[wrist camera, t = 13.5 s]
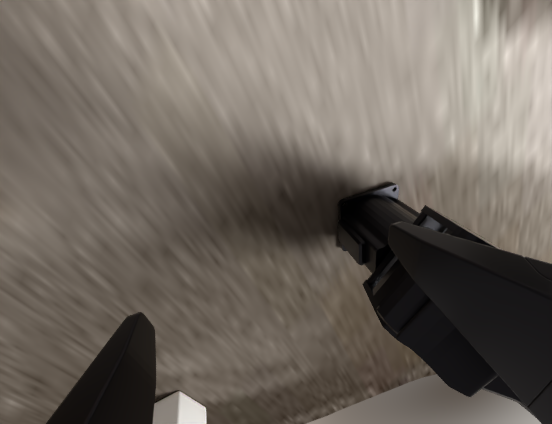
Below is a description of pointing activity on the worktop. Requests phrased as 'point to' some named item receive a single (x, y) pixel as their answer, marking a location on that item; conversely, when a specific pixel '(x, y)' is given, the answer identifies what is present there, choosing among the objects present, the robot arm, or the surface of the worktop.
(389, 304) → the robot arm
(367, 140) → the worktop surface
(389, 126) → the worktop surface
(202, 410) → the medicine bottle
